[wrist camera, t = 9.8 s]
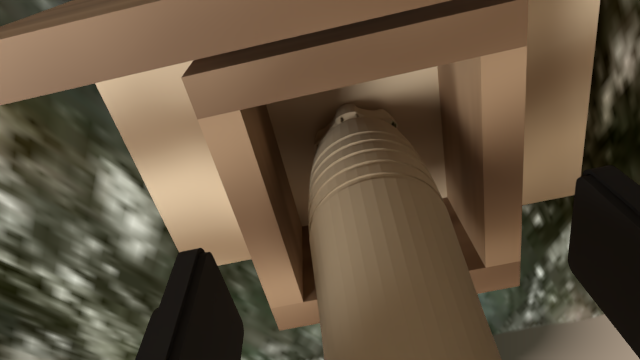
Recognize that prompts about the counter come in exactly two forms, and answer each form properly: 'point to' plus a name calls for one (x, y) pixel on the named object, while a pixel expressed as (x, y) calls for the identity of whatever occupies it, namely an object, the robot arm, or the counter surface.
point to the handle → (387, 250)
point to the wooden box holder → (323, 111)
